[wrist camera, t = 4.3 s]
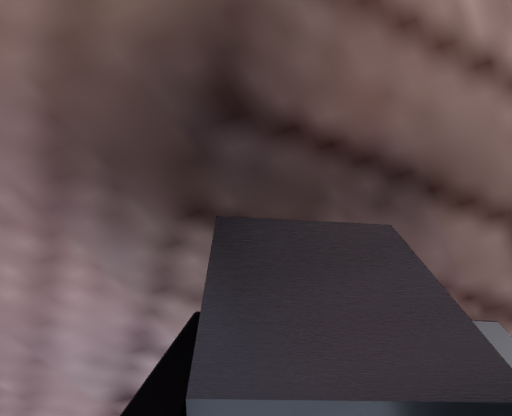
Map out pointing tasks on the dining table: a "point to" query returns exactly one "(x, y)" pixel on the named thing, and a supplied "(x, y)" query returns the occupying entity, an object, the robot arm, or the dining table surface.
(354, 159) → the dining table surface
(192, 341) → the robot arm
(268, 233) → the metal block
